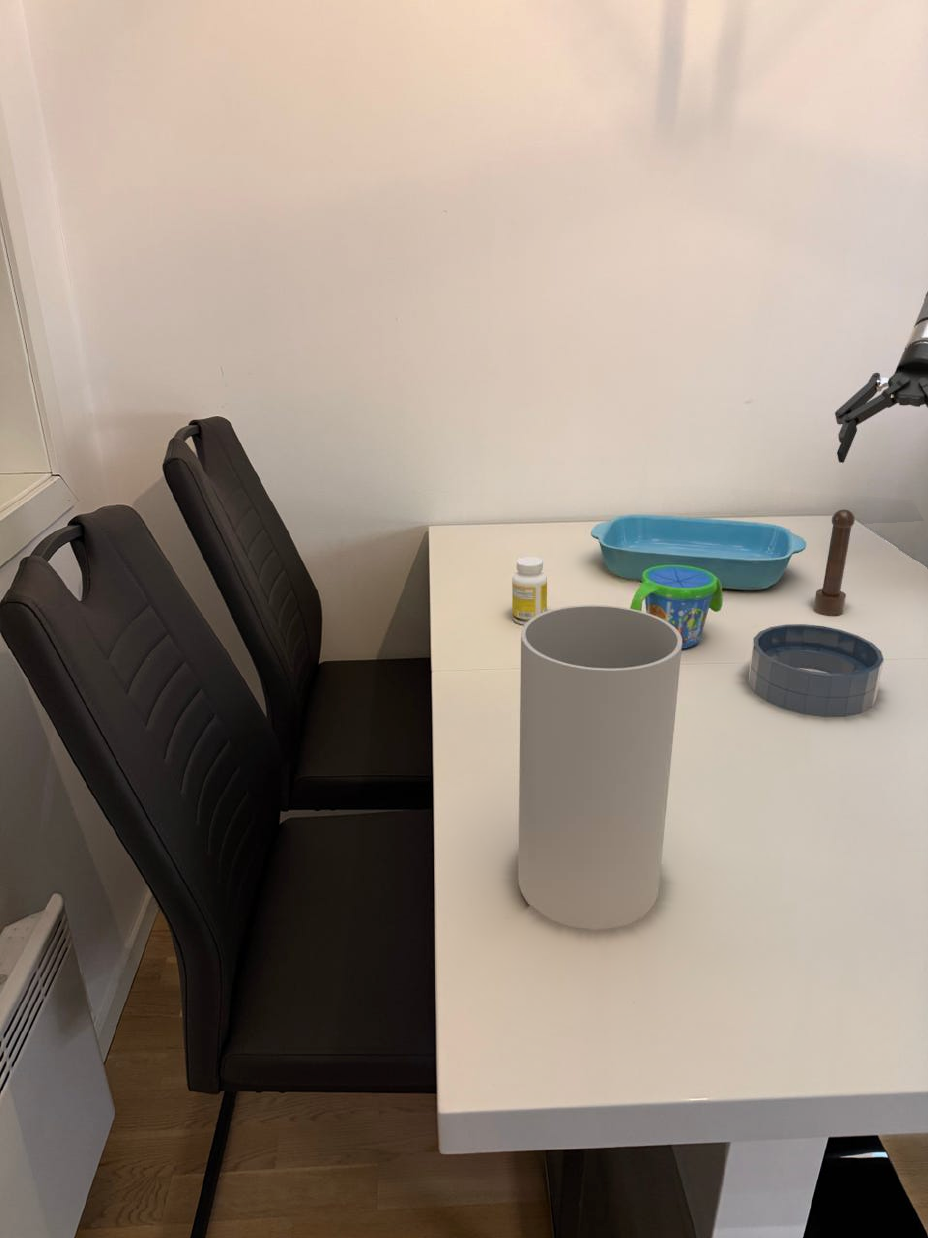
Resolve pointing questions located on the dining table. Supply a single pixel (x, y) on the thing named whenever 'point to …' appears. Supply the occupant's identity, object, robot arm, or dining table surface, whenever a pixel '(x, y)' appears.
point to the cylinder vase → (595, 761)
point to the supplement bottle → (528, 590)
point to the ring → (821, 649)
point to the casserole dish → (698, 548)
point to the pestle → (835, 566)
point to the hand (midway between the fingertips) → (884, 463)
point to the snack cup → (680, 598)
